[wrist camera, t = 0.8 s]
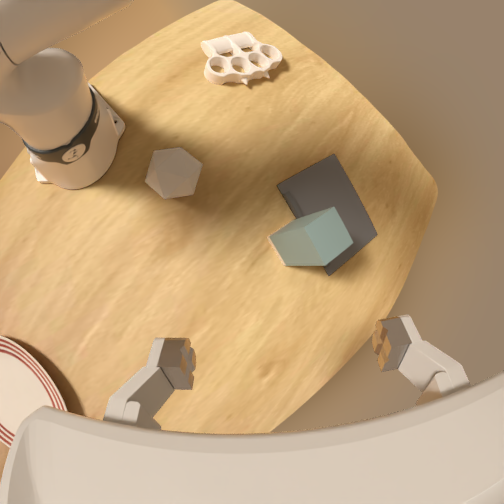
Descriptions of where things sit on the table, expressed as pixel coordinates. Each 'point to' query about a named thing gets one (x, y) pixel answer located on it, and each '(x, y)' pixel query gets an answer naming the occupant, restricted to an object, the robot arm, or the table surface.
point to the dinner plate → (22, 388)
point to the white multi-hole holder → (239, 58)
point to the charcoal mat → (330, 203)
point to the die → (173, 173)
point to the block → (311, 239)
